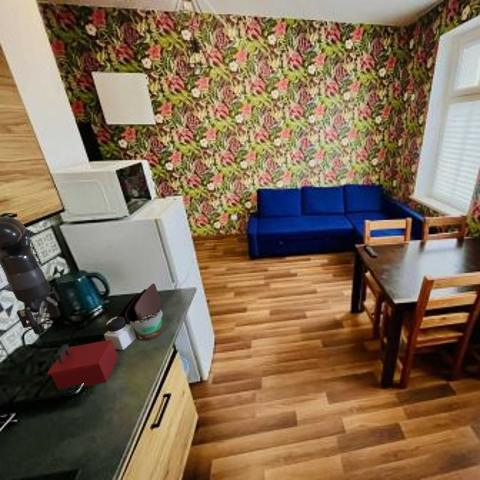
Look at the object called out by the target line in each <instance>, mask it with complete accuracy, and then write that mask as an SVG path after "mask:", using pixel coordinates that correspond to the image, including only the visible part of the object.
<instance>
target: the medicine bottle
mask: <svg viewBox="0 0 480 480" xmlns="http://www.w3.org/2000/svg"><path fill="white" fill-rule="evenodd" d="M105 326H106V329H107V330H108V331H107V332H105V333H104V334H103V337H104V339H105V341H106V340H112V342H113V345H114V347H115V350H119V351H124V350H125V349H126V348H127V347H129V346H131V344H132V343H133V342H135V340H136V339H137V338H138V336H137V334H136V332H135V331H134V328H133V327H131V326H130V325H127V324H126V321H125V318H124V317H117V316H115V317H112V318H111V319H109V320H108V321H107V322H106V325H105Z"/></svg>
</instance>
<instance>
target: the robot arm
mask: <svg viewBox="0 0 480 480" xmlns="http://www.w3.org/2000/svg"><path fill="white" fill-rule="evenodd" d="M0 267H1V268H2V271H3V273H4V275H5V278H6V281H7V284H8V286H9V287H10V289H11V291H12V293H13V295H14V297H15V299H16V301H19V302H21V303H23V306H24V307H23V308H22V309H18V310H17V311H16V315H17V318H18V319H19V321H20V323H21V326H22V328H23V329H27V328H31V329H32V331H33V333H34V334H35V335H43V334H45V332H46V329H45V327H44V325H43V323H42V321H41V320H42V317H43V316H44V311H45V309H47V311H48V313H49V315H50V317H51V318H58V317H60V315H61V313H60V310H59V308H58V303H59V302H60V301H61V298H60V297H59V294H58V292H57V290H56V288H55V287H54V286H50V284H49V282H48V280H47V278H46V275H45V273H44V271H43V269H42V268H41V266H40V265H39V262H38V260H37V258H36V256H35V254H34V253H33V250H32V245H31V241H30V237H29V234H28V231H27V228H26V227H25V225H24V224H23V222H22V221H20V220H18V219H17V218H14V217H10V216H1V217H0Z"/></svg>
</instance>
